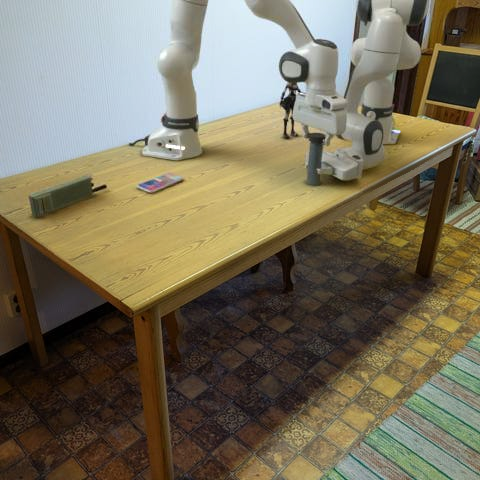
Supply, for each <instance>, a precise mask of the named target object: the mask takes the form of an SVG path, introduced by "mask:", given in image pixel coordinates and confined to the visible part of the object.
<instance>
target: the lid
mask: <svg viewBox="0 0 480 480" xmlns="http://www.w3.org/2000/svg"><path fill="white" fill-rule="evenodd" d="M326 137H327V136H326V133H322V132H310V135H309V138H308V142H309V143H310V142H312V143H323V140H324V139H326Z"/></svg>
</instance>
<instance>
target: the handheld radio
mask: <svg viewBox="0 0 480 480" xmlns="http://www.w3.org/2000/svg"><path fill="white" fill-rule="evenodd" d="M92 176H93V174H91V173H88V174H85V175H83V176H79V177H76V178H74V179H71V180H68V181H65V182H62V183H59V184H57V185H54V186H50V187H47V188H44V189H42V190H39V191H37V192H33V193H30V194H28V200H29V206H30V210H31V216H32V217H34V218H35V219H36V218H39V217H42V216H45V215H47V214H50V213H53V212H56V211H58V210H60V209H63V208H66V207H68V206H72V205H73V204H76V203H80V202H82V201H84V200H87V199H90V198H93V196H95V195H96V194H95V193H97V192H100V191H102V190H106V189H107V188H108V186H107V184H102V185H99V186H96V187H94V186H95V183H94V182H92V181H93V180H94V178H93V177H92ZM93 187H94V188H93Z"/></svg>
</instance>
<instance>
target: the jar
mask: <svg viewBox="0 0 480 480" xmlns="http://www.w3.org/2000/svg"><path fill="white" fill-rule="evenodd" d="M323 150H324V145H323V143H312V142H310V141H309V147H308V152H309V158H308V168H306V169H307V171H306V179H305V180H306V181H305V183H306V184H307V185H309V186H318V185H320V182H321V174H318V173H316V169H317V168H320V167H321V164H322V154H323Z"/></svg>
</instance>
